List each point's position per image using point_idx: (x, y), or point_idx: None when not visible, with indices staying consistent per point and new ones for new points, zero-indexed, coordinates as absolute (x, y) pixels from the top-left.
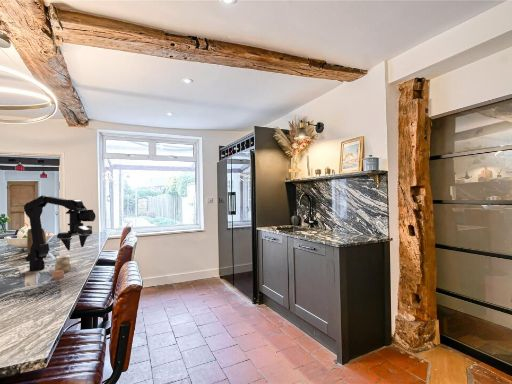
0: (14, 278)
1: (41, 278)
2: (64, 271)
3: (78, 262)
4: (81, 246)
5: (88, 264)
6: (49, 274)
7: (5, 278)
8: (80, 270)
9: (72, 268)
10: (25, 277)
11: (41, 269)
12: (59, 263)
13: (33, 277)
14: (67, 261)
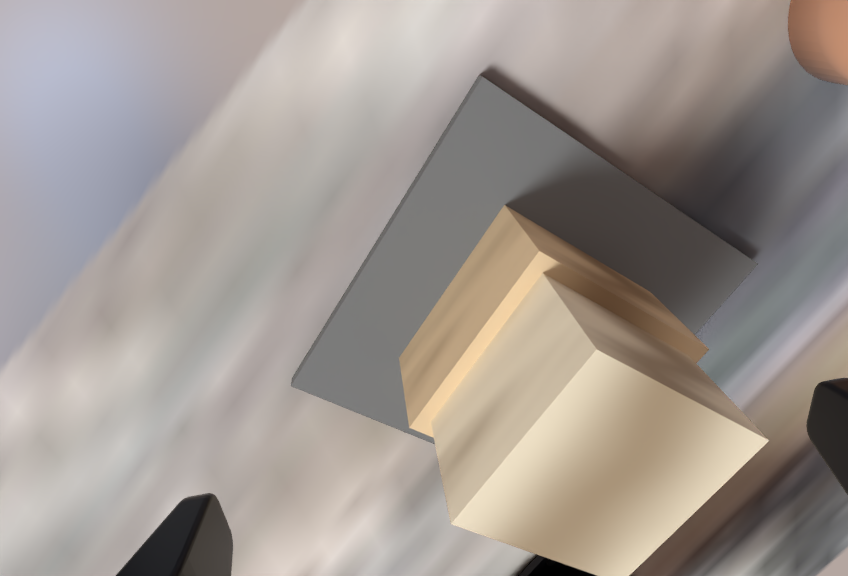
0: (836, 494)
1: (842, 251)
2: (572, 247)
3: (99, 571)
4: (225, 554)
5: (73, 363)
6: (719, 301)
7: (834, 553)
8: (389, 126)
9: (390, 317)
10: (802, 445)
11: (551, 571)
12: (676, 355)
13: (801, 376)
14: (588, 313)
